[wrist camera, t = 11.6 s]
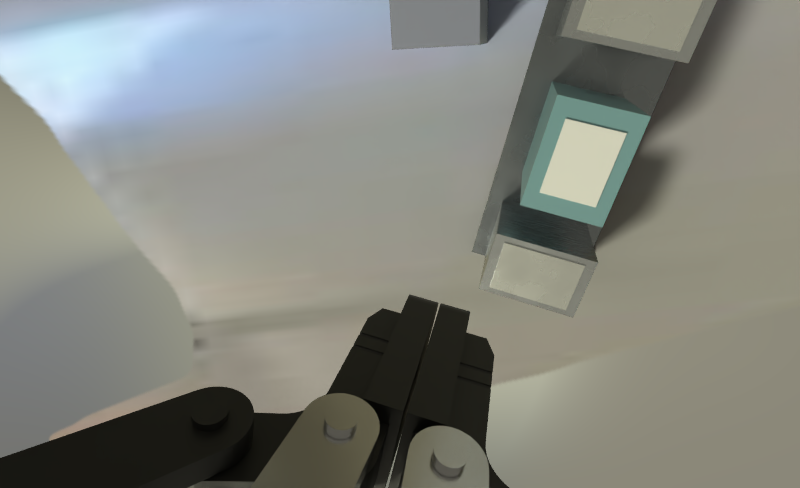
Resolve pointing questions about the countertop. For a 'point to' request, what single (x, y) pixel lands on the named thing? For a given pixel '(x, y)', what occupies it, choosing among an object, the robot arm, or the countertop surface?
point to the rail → (551, 61)
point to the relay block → (438, 23)
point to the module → (581, 153)
